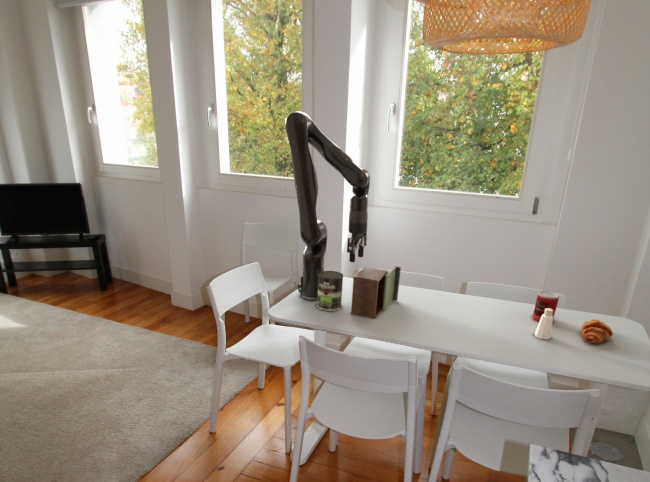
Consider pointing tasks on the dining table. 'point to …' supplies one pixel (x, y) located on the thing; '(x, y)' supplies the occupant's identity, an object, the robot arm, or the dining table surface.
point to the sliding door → (391, 286)
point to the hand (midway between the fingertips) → (356, 259)
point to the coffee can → (329, 290)
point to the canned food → (545, 303)
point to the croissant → (595, 331)
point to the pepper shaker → (545, 325)
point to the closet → (368, 292)
